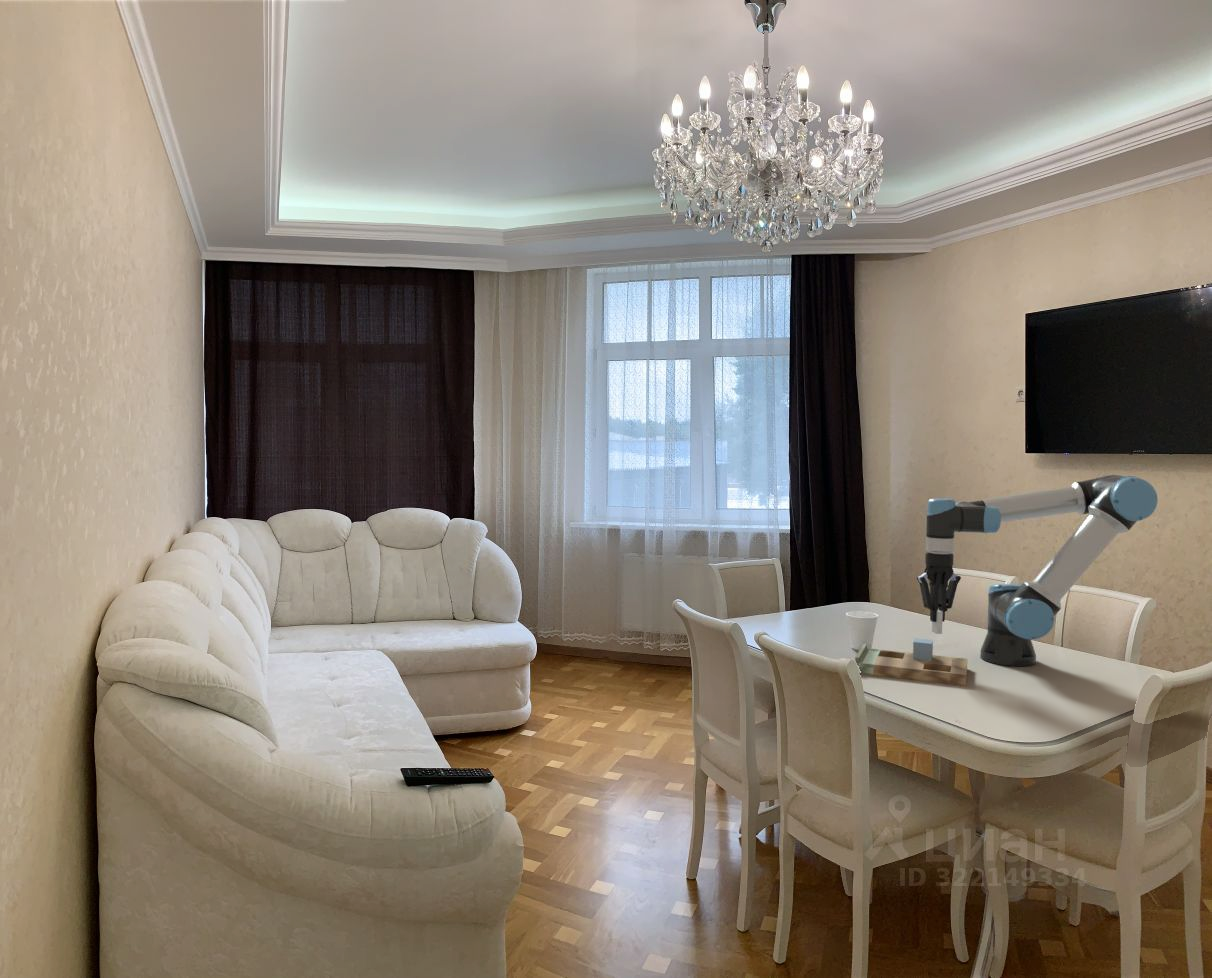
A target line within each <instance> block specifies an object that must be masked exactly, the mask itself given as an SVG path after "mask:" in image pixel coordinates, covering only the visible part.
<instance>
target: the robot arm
mask: <svg viewBox="0 0 1212 978" xmlns="http://www.w3.org/2000/svg"><path fill="white" fill-rule="evenodd" d="M1158 500H1159V499H1158V494H1157V491H1156V489H1155V488H1154V486H1153V485H1152V484H1151V483H1150V482H1149V481H1147V480H1145V479H1143V478H1140V477H1137V476H1132V475H1127V476H1126V475H1118V474H1111V475H1109V474H1108V475H1104V476H1100V477H1096V478H1091V479H1086V480H1082V481H1074V482H1073V483H1071V485H1070V486H1066V487H1058V488H1053V489H1046V490H1040V491H1033V492H1027V493H1020V494H1019V493H1018V494H1015V495H1014V494H1013V495H1006V496H1002V497H1001V496H1000V497H994V498H988V499H982V500H976V501H975V500H974V501H969V502H968V501H959V502H956V500H955V499H953V498H941V497H940V498H938V497H937V498H936V497H935V498H934V497H933V498H930V499H928V501H927V506H926V513H925V515H926V532H925V533H926V536H925V540H926V541H925V550H926V552H925V560H924V561H925V563H924V564H925V568H924V571H923V572H924V573H922V574H921V575H917V576H916V580H917V582H918V583H919V588H920V592H921V593H920V594H921V598H922V603H923V607H924V608H926V609H928V610H929V612H930V613H929V615H930V616H929V619H930V622H931V623H932V626H931V632H932V633H934V634H937V635H942V634H943V622H945V619H946V618H945V616H946V614H945V613H946V612H948V609H952V607H953V604H954V600H955V596H956V592H957V587H958V585H959V583H960V581H961V580H962V577H961V575H957V574H956V573H955V572H954V569H953V566H954V559H955V558H954V553H953V552H955V533H981V534H982V533H983V534H990V533H997V532H998V531H999V530H1000V528H1001V523H1008V522H1014V521H1021V520H1028V519H1036V518H1042V517H1050V516H1055V515H1063V514H1070V513H1077V514H1078V515H1081V516H1082V515H1087V514H1088V515H1087V516H1086V518H1085V519H1084V520H1083V522H1082V523H1081V524H1080V525H1079V526H1078V528H1076V530H1075V531H1074V532H1073V533H1072V534H1071V535H1070V537H1069V538H1068V539H1067V540H1066V541H1065V543H1063V544H1062V546H1061V547H1060V548H1059V549H1058V551H1057V552H1056V553H1055V555H1054V556H1052V558H1050V560H1049V561H1048V562H1047V563H1046V565H1045V566H1044V567H1043V568H1042V569H1041V571H1040V572H1039V573H1038V574H1037V575H1036V577H1035V578H1034V579H1033V580H1031V581H1024V582H1023V583H1022V584H1010V583H1008V584H1007V583H1005V584H1004V583H993V584H991V585H990V586H989V588H988V593H987V596H988V598H987V599H988V601H987V603H988V604H987V608H988V609H987V632H986V636H985V637H984V641H983V643H982V646H981V647H980V652H979V653H980V659H982V660H983V661H986V662H989V663H991V664H996V665H1002V666H1009V667H1010V666H1011V667H1029V666H1030V667H1031V666H1034V665H1035V664H1036V663H1037V654H1036V652H1035V648H1034V645H1033V642H1032V640H1039V639H1041V638H1044V637H1045V636H1047V635H1048V634H1049V633H1050V632H1051V630H1052V629H1053V627H1054V625H1055V617H1056V615H1058V613H1059V611H1061V609H1062V604H1061V600H1062V599H1063V598H1064V597H1065V595H1066V594H1067V593H1068V592H1069V591H1070V590H1071V589H1072V587H1073V586H1074V585H1075V584H1076V583H1077V582H1078V581H1079V580H1080V578H1082V576H1083V575H1084V574H1085V572H1086V571H1087V570H1088V569H1089V568H1090V567H1091V565H1092V564H1093V563H1094V562H1095V561H1096V559H1097V558H1099V556H1100V555H1101V554H1102V553H1103V552H1104V551H1105V549H1106V548H1107V547H1108V545H1110V544H1111V543H1112V541H1113V540H1114V539H1115V538H1116V536H1117V535H1118V534H1123V533H1128V532H1129V531H1130V530H1131V528H1132V527H1134V525H1135V524H1136V523H1137V522H1140V521H1143V520H1146V519H1147V518H1149V517H1150V516H1152V515H1153V514H1154V512H1155V511H1156V509H1157V507H1158V502H1159V501H1158ZM928 582H929V583H928Z"/></svg>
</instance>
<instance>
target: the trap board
mask: <svg viewBox="0 0 1212 978" xmlns="http://www.w3.org/2000/svg"><path fill="white" fill-rule="evenodd" d="M854 659H855V660H854V662H855V661H856V663H857V665H858V666H859V669H860V671H861V674H862V675H869V676H870V675H871V676H876V677H879V676H880V677H886V678H887V677H888V678H897V679H904V680H912V681H920V682H921V681H922V682H930V683H938V684H946V685H947V684H949V685H955V686H956V685H957V686H963V687H964V686H967V676H968V675H967V674H968V658H965V657H964V658H963V657H962V658H961V657H955V656H954V657H953V656H943V655H934V654H933V655H932V661H927V660H917V659H913V652H905V651H896V650H895V651H894V650H889V649H888V650H886V649H876V648H871V649H868V648H867V643H863V645H862V647H861V648H860V650H858V652H857V654H856V655H855V658H854ZM861 674H860V675H861Z"/></svg>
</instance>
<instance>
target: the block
mask: <svg viewBox="0 0 1212 978" xmlns="http://www.w3.org/2000/svg"><path fill="white" fill-rule="evenodd" d="M912 644H913V645H912V646H913V648H912V649H913V650H912V653H913V659H917V660H927V661H932V655H934V654H933V653H934V651H933V649H934V648H933V647H934V640H933V639H927V638H918V637H917V638H914V639H913V642H912Z"/></svg>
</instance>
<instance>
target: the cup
mask: <svg viewBox="0 0 1212 978" xmlns="http://www.w3.org/2000/svg"><path fill="white" fill-rule="evenodd" d="M845 615H846V619H847V626H848V634H849V641H850V647H851V648H852V649H853V650H855V651H859V650H860V648H861V647H862V645H863V643H867V648H868V649H873V648H872V647H873V643H874V642H873V641H874V639H875V637H874V636H875V631H876V627H877V623H878V618H879V615H878V614H877V613H874V612H870V611H860V610H859V611H858V610H856V611H848V612H845Z"/></svg>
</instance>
